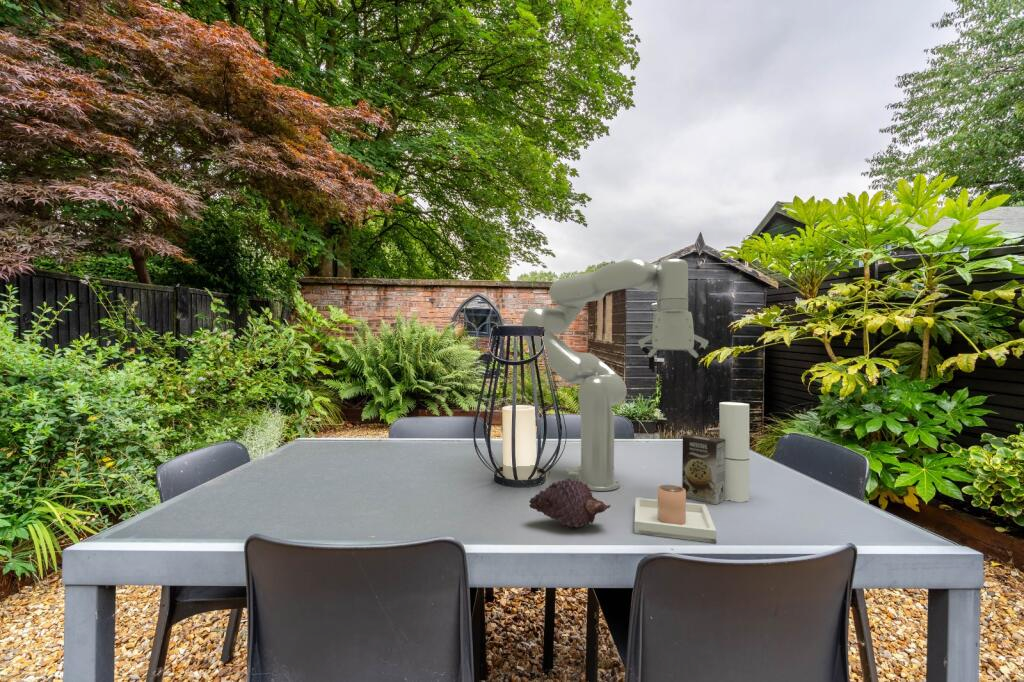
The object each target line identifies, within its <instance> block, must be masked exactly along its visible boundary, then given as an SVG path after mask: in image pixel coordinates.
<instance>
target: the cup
mask: <svg viewBox="0 0 1024 682" xmlns="http://www.w3.org/2000/svg"><path fill="white" fill-rule="evenodd" d="M657 500H658V520H659V521H660V522H662V523H668V524H677V525H683V524H685V523H686V503H687V497H686V490H685V489H684V488H682V486H679V485H673V484H660V485H658V486H657Z"/></svg>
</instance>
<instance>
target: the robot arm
mask: <svg viewBox="0 0 1024 682" xmlns="http://www.w3.org/2000/svg"><path fill="white" fill-rule="evenodd" d="M624 289H625V290H626V289H635V290H640V291H642V292H653V291H656V290H657V301H656V302H655V303H654V302H653V303H652V302H651V309H656V311H655V312H654V315H653V319H652V330H651V331H652V332H651V334H649V335H646V336H644V337H642V338H641V339H639V340H637V343H638V345H639V347H640V349H641V351H642V352H643V353H644V354H645V355H646V356H647V357H648V369H649V370H651V373H655V371H656V369H655V366H656V364H655V363H656V360H655V354H656V352H657V351H687V352H688V354H690V356H691V357H690V359H689V373H690V374H695V371H698V357H699V356H701V355H702V354H703V353H704V352H705V350H706V348H707V346H708V344H709V340H708V339H706V338H703V337H702V336H699V335H697V334H695V331H694V330H695V329H694V319H693V314H692V311H689V264H688V262H687V261H686V259H681V258H667V259H664V260H661V261H660V262H658V264H656V263H655V264H654V263H651V262H648V261H645V260H643V259H638V258H637V259H636V258H634V259H627V260H622V261H616V262H613V263H608V264H607V265H604V266H602V267H600V268H598V269H596V270H595V271H590V272H586V273H581V274H576V275H572V276H566V277H563V278H559V279H557V280H555V281H554V282H553V283H552V284H551V286H550V287H549V291H548V292H549V297H550V299H551V301H552V302H553V303H554V304H555V306H554V308H551V307H543V306H538V307H537V306H536V307H535V306H534V307H532V308H529V309H528V310H527V311H526V312H525V313H524V314H523V317H522V320H521V321H522V322H521V327H522V326H538V327H544V329H545V334H544V336H543V342H544V345H545V349H546V352H547V356H548V363H549V365H548V366H549V367H550V368H551V369H552V370H553V371H554V372H555V373H556V374H557V375H558V376H559V377H560V378H561V379H562V380H563V381H564V382H565V383H567V384H568V383H569V384H572V385H573V384H575V385H576V384H579V387H578V392H577V397H578V404H579V412H580V466H579V467H576V468H574V467H566V468H565V475H568V477H576V478H574V480H576V481H581V482H582V483H583V484H585V485H587V486H588V488H590V491H595V492H606V491H607V492H609V491H614V490H617V489H618V488H620V485H621V484H620V481H619V479H617V478H616V477H615V418H614V413H613V409H612V406H617V405H619V404H621V403H622V402H623V401H624V400H625V399H626V397H627V392H628V389H627V386H626V383H625V381H624V379H622V377H621V376H620V375H618V374H617V372H615V371H614V370H613V369H612V368H610V366H608V365H607V364H606V363H605V362H604V361H602V360H601V359H600V358H599V357H598V356H596V355H594V354H593V353H589V352H579V351H576V350H574V349H572V348H571V347H570V346H569V345H568V344H566V342H564V341H563V339H561V338H559V336H558V337H557V336H556V335H561V334H562V333H564V332H565V331H567V330H568V329H569V327H570V326H571V325H572V323H574V321H575V320H576V319H577V317H578V316H579V314H580V313H582V310H583V309H584V308H585V307H586V305H587V303H588V302H595V301H597V302H598V301H600V300H602V299H603V298H605V297H606V296H605V295H606V294H608V293H610V292H614V291H620V290H624ZM523 338H524V340H525V342H526V343H527V345H528V346H529V348H530V349H531V350H532V341H531V340H530V337H529V336H523ZM541 338H542V337H540V336H535V337H534V342H535V346H536V352H539V351H540V350H541V349H542V346H541ZM649 341H651V346H652V349H651V350H649V349H648V348H647V347H646V345H645V344H646V343H647V342H649ZM695 341H696V342H698V343H700V344H701V345H700V346H699V348H698V349H697V350H696V349H694V346H695ZM539 358H541V359H542V360H543V361H544V362H545V360H544V354H542V355H541V356H539Z"/></svg>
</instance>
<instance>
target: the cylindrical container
mask: <svg viewBox="0 0 1024 682" xmlns="http://www.w3.org/2000/svg"><path fill="white" fill-rule="evenodd" d="M718 406H719V407H718V409H719V411H718V413H719V416H718V417H719V434H718V435H719V437H718V438H720V439H725V485H724V498H725V499H727V500H726V501H728V500H731V501H730V502H732V501H737V502H736V503H746V502H745V501H748V502H750V500H749V499H750V498H751V497H750V403H744V402H736V401H733V402H732V401H722V402H719V405H718Z"/></svg>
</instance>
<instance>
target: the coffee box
mask: <svg viewBox="0 0 1024 682" xmlns="http://www.w3.org/2000/svg"><path fill="white" fill-rule="evenodd" d="M681 466H682V467H681V469H682V472H681V475H682V478H681V482H682V483H681V487H682V488H684V489H685V490H686V499H687V498H688V499H691V500H694V501H699V502H702V501H703V502H702V503H706V502H707V504H710V503H711V504H710V505H714V504H715V505H714V506H716V505H718V504H719V502H720V503H721V502H724V501H725V500H724V499H725V498H724V485H725V439H720V438H719V437H713V436H707V435H700V434H694V433H691V434H686V435H683V436H682V465H681ZM717 503H718V504H717Z"/></svg>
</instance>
